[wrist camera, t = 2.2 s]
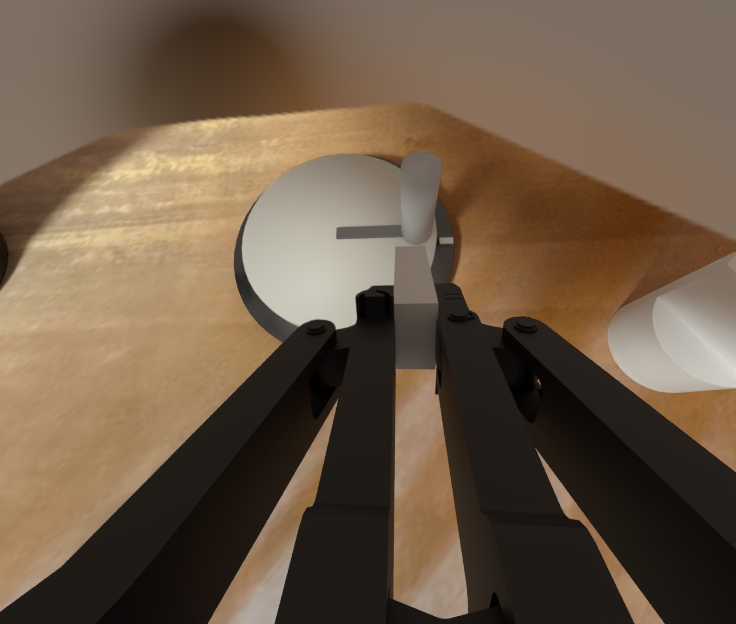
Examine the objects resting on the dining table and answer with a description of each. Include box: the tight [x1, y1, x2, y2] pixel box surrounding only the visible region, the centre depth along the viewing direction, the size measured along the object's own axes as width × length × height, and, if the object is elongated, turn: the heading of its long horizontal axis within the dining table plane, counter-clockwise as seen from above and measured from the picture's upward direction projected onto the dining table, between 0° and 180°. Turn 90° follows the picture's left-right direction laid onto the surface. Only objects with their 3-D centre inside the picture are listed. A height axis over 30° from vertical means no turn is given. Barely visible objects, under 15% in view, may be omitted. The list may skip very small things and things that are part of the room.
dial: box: [242, 151, 442, 329], centre depth 30 cm, size 20×20×11 cm
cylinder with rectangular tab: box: [607, 251, 736, 393], centre depth 26 cm, size 9×9×12 cm
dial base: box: [234, 155, 454, 342], centre depth 36 cm, size 24×24×2 cm
